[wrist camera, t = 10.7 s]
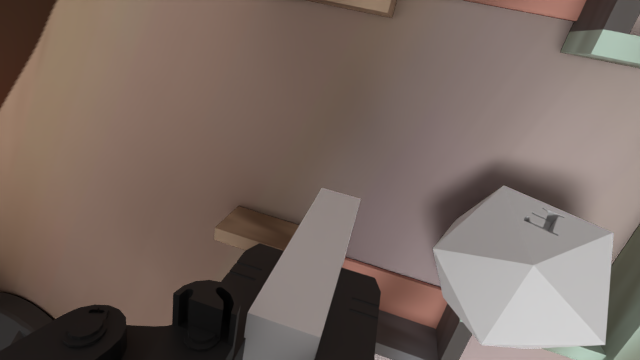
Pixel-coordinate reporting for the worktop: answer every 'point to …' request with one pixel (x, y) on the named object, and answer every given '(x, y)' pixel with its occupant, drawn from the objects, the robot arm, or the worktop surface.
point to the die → (526, 273)
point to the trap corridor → (427, 300)
